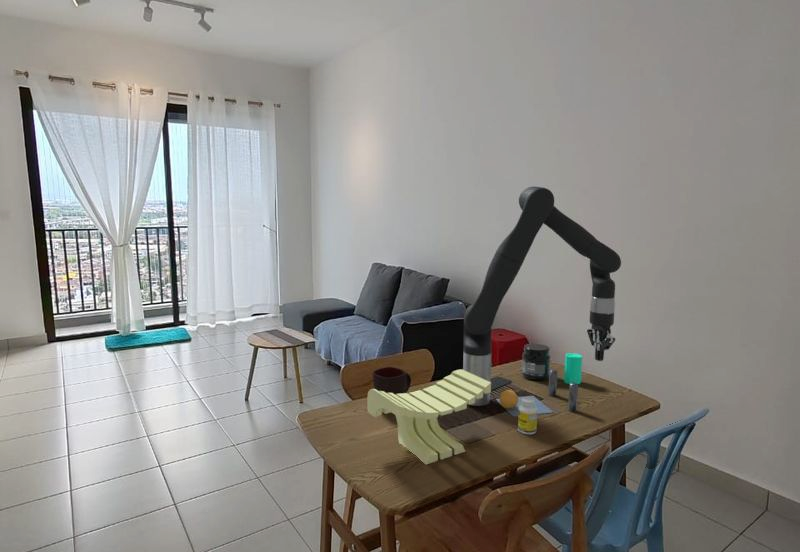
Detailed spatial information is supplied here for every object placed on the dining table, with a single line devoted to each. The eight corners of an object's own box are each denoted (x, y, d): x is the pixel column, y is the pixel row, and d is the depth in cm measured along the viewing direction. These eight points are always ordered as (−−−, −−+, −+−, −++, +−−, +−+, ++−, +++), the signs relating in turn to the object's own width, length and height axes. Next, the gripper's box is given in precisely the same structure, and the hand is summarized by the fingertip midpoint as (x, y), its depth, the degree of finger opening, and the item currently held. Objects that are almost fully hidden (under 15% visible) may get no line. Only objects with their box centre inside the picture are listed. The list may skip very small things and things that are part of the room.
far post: (550, 396, 171) (551, 372, 169) (547, 394, 173) (548, 369, 172) (557, 396, 171) (558, 371, 170) (553, 393, 174) (555, 369, 172)
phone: (513, 381, 185) (489, 390, 175) (513, 383, 185) (489, 393, 175) (497, 376, 191) (472, 385, 181) (497, 378, 191) (472, 387, 181)
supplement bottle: (514, 428, 147) (515, 397, 145) (529, 425, 149) (530, 394, 147) (524, 436, 142) (526, 403, 140) (540, 433, 144) (541, 401, 142)
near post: (571, 412, 158) (572, 385, 157) (566, 409, 160) (568, 382, 159) (578, 411, 158) (579, 385, 157) (574, 408, 161) (575, 382, 160)
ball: (500, 401, 157) (515, 390, 158) (493, 395, 163) (507, 383, 163) (510, 415, 158) (524, 403, 159) (502, 408, 164) (516, 397, 165)
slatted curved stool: (453, 422, 151) (455, 366, 148) (489, 443, 137) (491, 382, 135) (367, 447, 135) (367, 385, 133) (398, 474, 122) (398, 405, 119)
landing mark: (512, 416, 155) (512, 415, 155) (495, 399, 168) (495, 398, 168) (553, 412, 158) (553, 412, 158) (533, 396, 171) (533, 395, 171)
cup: (368, 407, 162) (368, 372, 160) (398, 395, 171) (399, 362, 170) (388, 416, 155) (388, 379, 153) (419, 404, 164) (419, 369, 163)
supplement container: (544, 372, 196) (546, 343, 194) (553, 381, 186) (554, 350, 184) (518, 372, 196) (519, 343, 194) (525, 381, 185) (526, 351, 184)
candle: (582, 385, 182) (583, 354, 180) (565, 384, 183) (566, 353, 181) (579, 379, 187) (581, 349, 186) (563, 378, 189) (564, 348, 187)
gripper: (580, 306, 170) (578, 355, 172) (604, 314, 157) (600, 367, 159) (600, 305, 171) (597, 353, 174) (624, 313, 158) (621, 365, 161)
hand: (599, 360), depth 166 cm, fingers closed
